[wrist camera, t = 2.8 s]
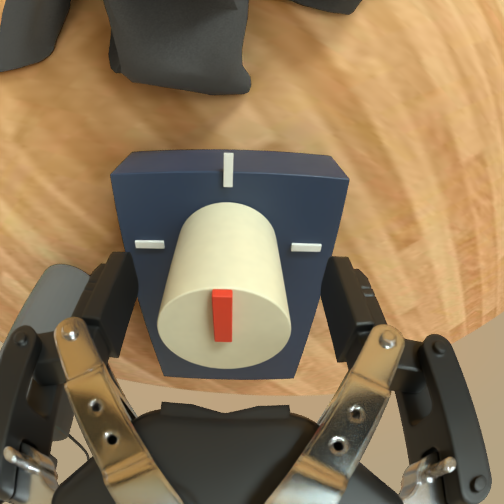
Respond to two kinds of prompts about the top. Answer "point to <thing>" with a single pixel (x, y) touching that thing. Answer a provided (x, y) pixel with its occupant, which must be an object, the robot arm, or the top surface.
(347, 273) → the robot arm
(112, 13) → the cloth
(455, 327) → the top surface
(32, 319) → the bottle
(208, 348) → the knob
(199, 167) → the panel
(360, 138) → the top surface
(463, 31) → the top surface
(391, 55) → the top surface
